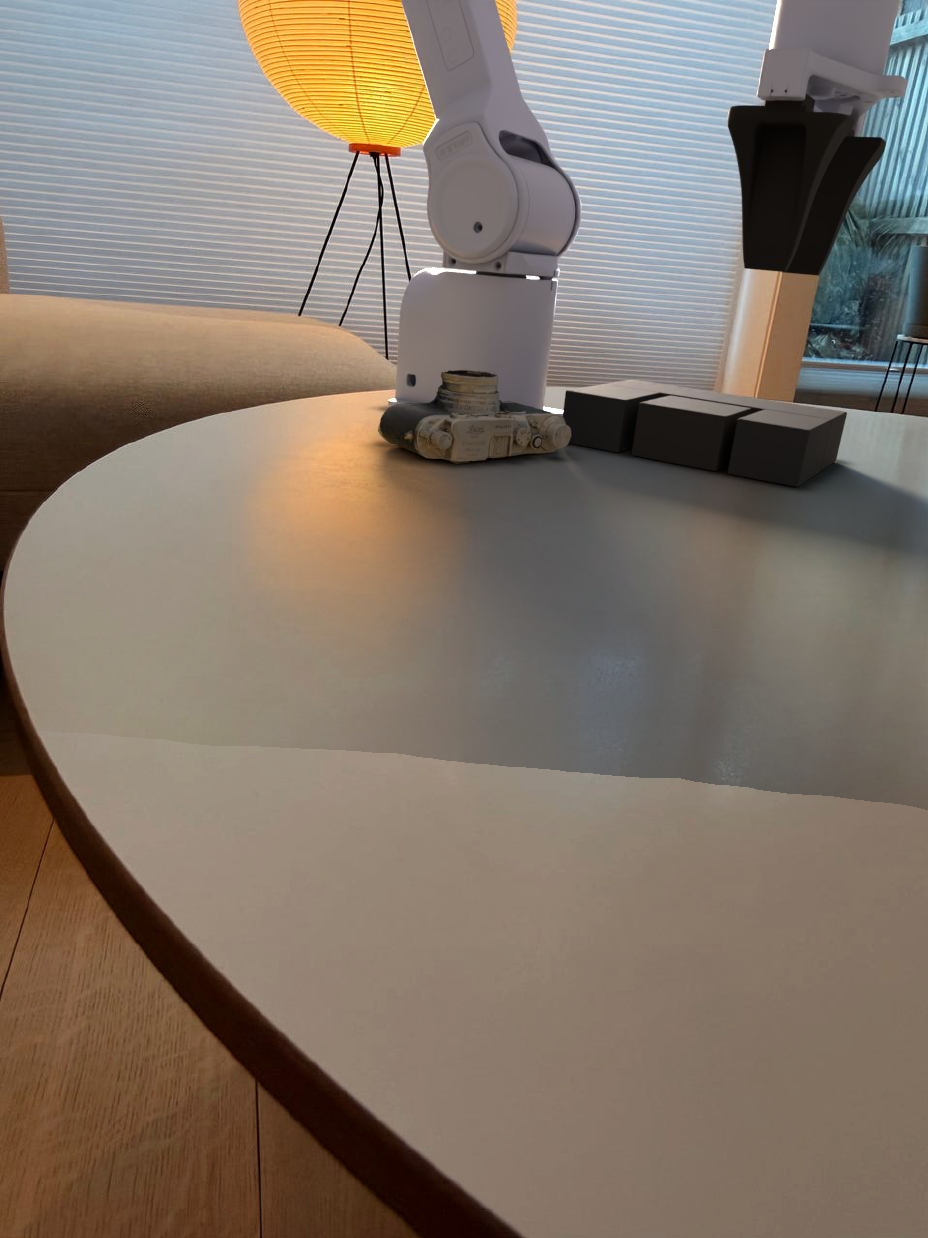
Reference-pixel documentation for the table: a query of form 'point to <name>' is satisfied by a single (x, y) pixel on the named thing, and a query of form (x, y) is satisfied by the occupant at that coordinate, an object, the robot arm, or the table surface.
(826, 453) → the base pad
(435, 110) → the robot arm
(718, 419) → the pad piece
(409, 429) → the camera
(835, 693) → the table surface
